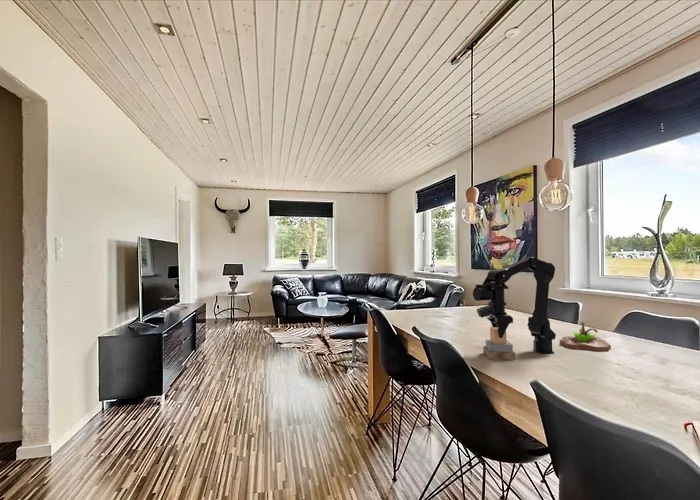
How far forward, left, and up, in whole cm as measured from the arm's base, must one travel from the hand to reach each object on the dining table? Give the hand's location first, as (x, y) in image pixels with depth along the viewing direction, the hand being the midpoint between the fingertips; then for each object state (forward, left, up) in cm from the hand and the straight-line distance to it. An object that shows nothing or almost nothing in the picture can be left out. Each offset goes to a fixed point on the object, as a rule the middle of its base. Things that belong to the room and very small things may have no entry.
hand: (498, 336), depth 151 cm
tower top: (0, 0, -6) cm, 6 cm away
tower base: (0, 0, -9) cm, 9 cm away
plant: (-46, -20, -9) cm, 51 cm away
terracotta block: (0, 0, -2) cm, 3 cm away
